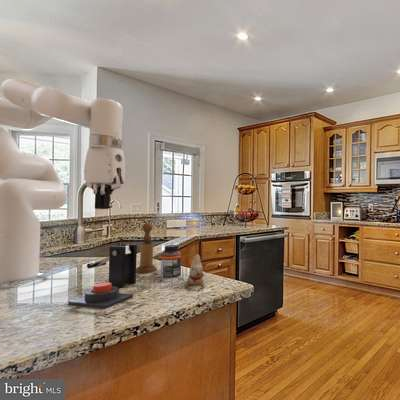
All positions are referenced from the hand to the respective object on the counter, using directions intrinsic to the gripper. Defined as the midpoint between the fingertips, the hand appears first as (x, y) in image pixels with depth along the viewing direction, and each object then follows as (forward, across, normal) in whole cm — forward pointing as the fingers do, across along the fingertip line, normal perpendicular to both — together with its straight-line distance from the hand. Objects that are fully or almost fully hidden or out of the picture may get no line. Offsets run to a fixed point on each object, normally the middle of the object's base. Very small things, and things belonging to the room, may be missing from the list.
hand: (102, 208), depth 79 cm
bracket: (+23, -6, -2) cm, 24 cm away
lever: (+15, -2, -2) cm, 16 cm away
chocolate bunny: (+23, -24, -11) cm, 35 cm away
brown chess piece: (+23, 0, -18) cm, 30 cm away
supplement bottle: (+23, -12, -16) cm, 30 cm away
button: (+19, -12, +10) cm, 25 cm away
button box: (+23, -12, +10) cm, 28 cm away
